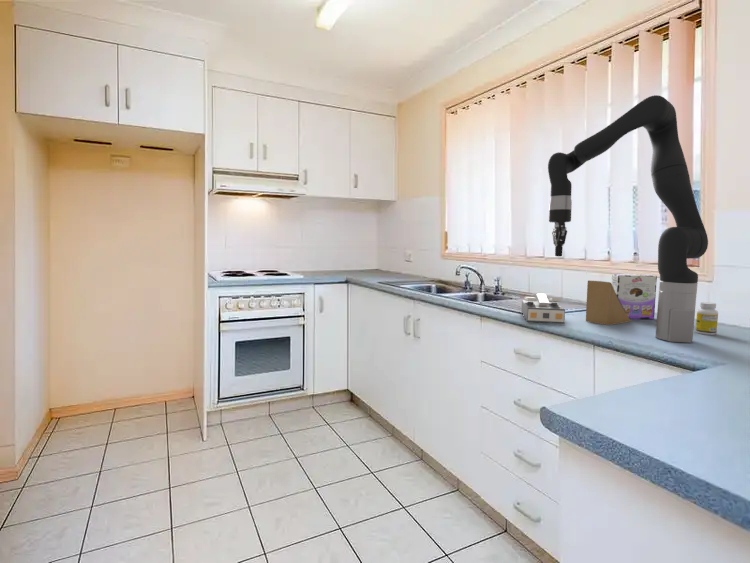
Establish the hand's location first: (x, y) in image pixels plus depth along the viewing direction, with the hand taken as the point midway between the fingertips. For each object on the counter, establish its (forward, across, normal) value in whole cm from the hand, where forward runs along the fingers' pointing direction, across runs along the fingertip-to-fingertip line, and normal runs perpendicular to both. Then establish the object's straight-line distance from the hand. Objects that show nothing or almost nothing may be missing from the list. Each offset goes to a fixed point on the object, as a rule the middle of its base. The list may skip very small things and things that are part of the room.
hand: (558, 256), depth 164 cm
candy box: (+23, +7, -28) cm, 37 cm away
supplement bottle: (+24, -18, -41) cm, 51 cm away
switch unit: (+23, -2, +6) cm, 24 cm away
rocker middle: (+16, -2, +6) cm, 18 cm away
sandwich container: (+24, -2, -17) cm, 29 cm away
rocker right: (+17, -2, +1) cm, 17 cm away
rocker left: (+16, -2, +10) cm, 19 cm away
